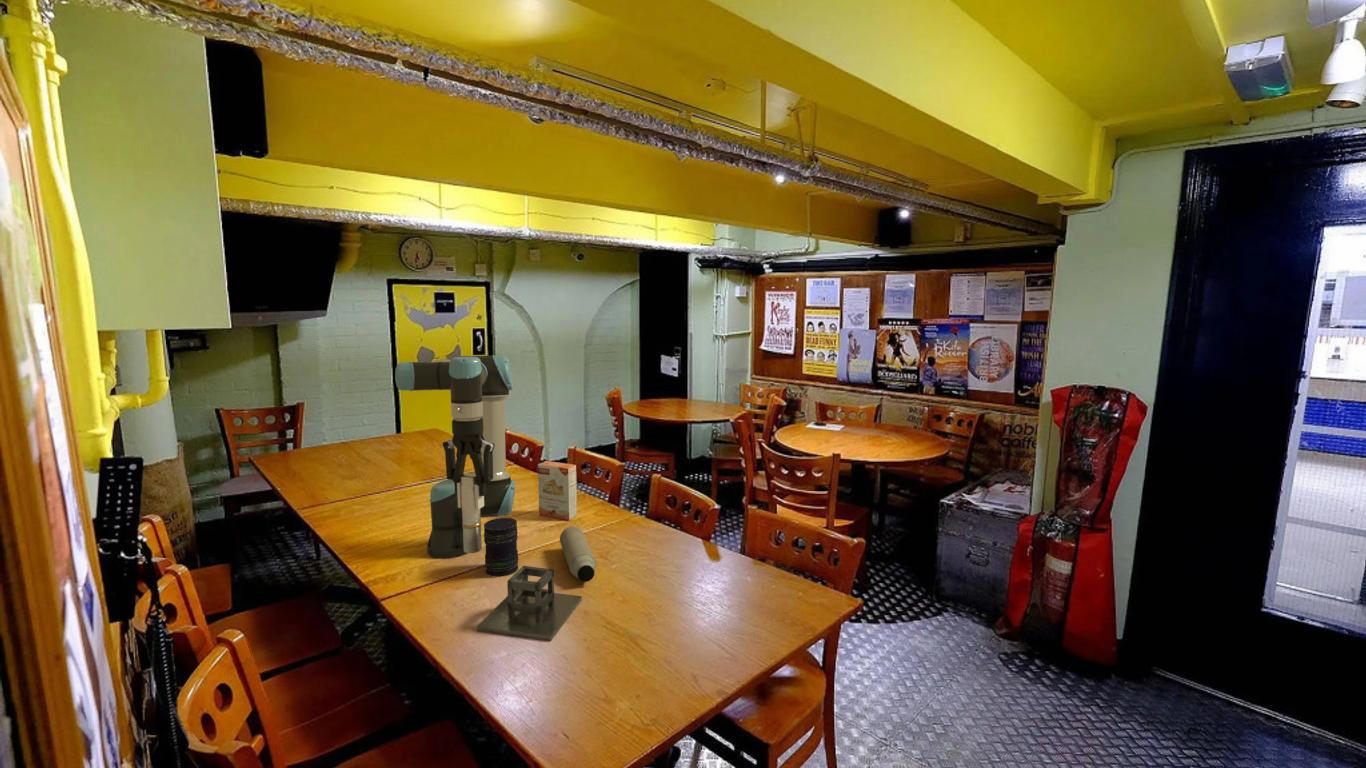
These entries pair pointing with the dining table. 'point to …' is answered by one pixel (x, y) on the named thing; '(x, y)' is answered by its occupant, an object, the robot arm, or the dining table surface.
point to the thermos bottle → (578, 553)
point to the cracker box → (557, 490)
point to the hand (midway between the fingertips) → (471, 506)
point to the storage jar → (501, 547)
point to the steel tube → (470, 515)
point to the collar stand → (531, 607)
